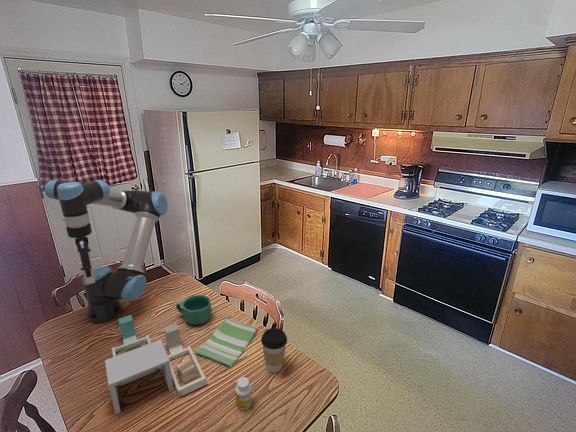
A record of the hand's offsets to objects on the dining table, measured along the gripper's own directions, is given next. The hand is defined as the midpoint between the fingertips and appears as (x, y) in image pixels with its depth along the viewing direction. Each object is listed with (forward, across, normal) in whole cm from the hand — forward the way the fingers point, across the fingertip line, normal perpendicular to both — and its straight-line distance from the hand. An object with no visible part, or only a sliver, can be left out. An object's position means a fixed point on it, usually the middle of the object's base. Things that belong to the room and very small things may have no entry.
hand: (89, 275), depth 122 cm
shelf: (+33, +33, +9) cm, 47 cm away
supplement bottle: (+33, +58, +37) cm, 76 cm away
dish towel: (+34, +28, +44) cm, 62 cm away
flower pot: (+33, +23, +9) cm, 41 cm away
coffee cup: (+33, +50, +54) cm, 81 cm away
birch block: (+33, +36, +24) cm, 54 cm away
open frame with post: (+32, +30, +24) cm, 50 cm away
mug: (+33, +5, +37) cm, 50 cm away
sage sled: (+32, +14, +9) cm, 36 cm away
